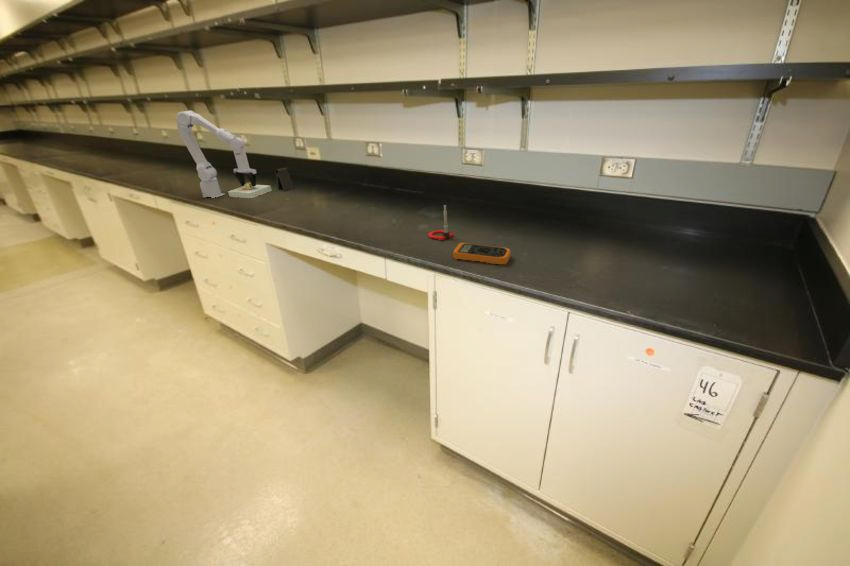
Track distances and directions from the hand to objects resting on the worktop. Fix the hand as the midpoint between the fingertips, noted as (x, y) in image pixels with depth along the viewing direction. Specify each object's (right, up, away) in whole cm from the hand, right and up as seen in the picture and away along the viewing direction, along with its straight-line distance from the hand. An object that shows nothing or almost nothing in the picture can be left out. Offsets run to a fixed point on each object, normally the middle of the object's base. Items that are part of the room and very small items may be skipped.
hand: (248, 186), depth 208 cm
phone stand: (+18, 0, +8) cm, 20 cm away
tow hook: (+106, -37, -66) cm, 130 cm away
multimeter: (+119, -47, -85) cm, 153 cm away
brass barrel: (0, -4, +2) cm, 5 cm away
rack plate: (0, -4, +2) cm, 4 cm away
